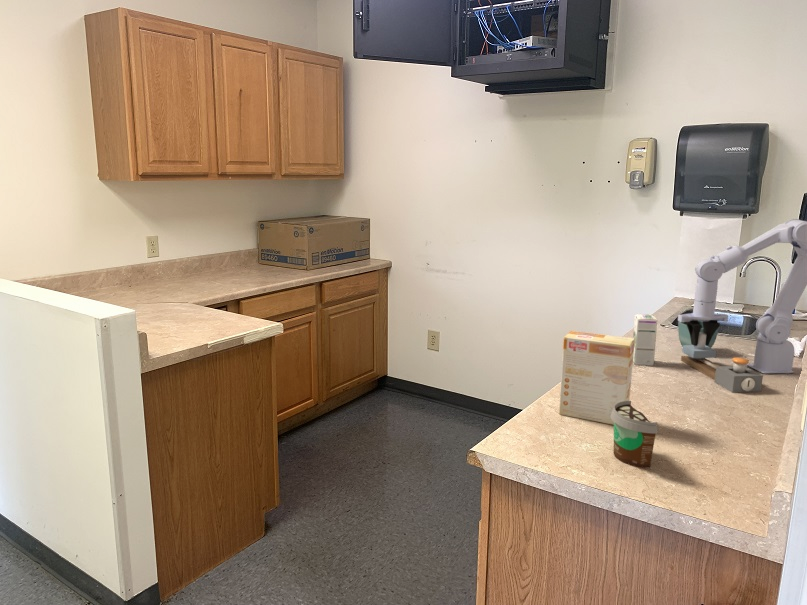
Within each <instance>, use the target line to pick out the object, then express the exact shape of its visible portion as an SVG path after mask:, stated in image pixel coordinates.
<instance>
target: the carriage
mask: <svg viewBox="0 0 807 605" xmlns="http://www.w3.org/2000/svg"><path fill="white" fill-rule="evenodd" d="M706 336H707V334H705V333H699V338H698V344H697V346H694V345H683V347H682V350H681V351H682V353H683V354H684V355H685V356H690V357H692V358H706V359H713V358H714V359H715V358H716V357H717V350H716V349H714V348H713V347H711V348H710V347H708V346H706V345H705V344H706Z"/></svg>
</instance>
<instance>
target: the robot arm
mask: <svg viewBox="0 0 807 605" xmlns="http://www.w3.org/2000/svg"><path fill="white" fill-rule="evenodd" d="M777 243H779V244H791V245H792V247H793V249H794V251H795V253H796V254H797V256H796V259H794V263H793V264H792V266H791V268H790V270H789V272H788V274H787V275H786V278H785V280H784V282H783V284H782V286H781V288H780V290H779V292H778V294H777V296H776V298H775V300H774V302H773V304H772V305H771V306H769V307H768V308H767V309H766V310H765V312H764V314H763V315H761V316H760V317H758V319H757V320H756V323H755V328H756V331H757V332H758V335H757V336H756V337H757V338H756V344H755V351H754V358H753V362H752V363H748V364H747V365H746V367H748V368H749V367H750V369H752V370H755V371H756V372H758V373H760V374H767V375H768V374H794V373H795V372H794V370H793V363H794V357H795V346H794V343H792V341H790V340H788V339H789V338H790V336H791V327H792V324H793V322H794V319H793V318H794V317H793V312H794V311H795V309H796V307H797V305H798V303H799V301H800V299H801V297H802V295H803V293H804V291H805V289H806V287H807V220H801V219H799V218H798V219H797V218H791V219H789V220H787V221H785V222H783V223H780V224H777V225H776V226H774V227H773V228H772V229H769V230H768V231H765V232H764V233H763V234H761V235H759V236H757V237H756V238H754V239H752V240H750V241H749V242H747V243H745V244H744V245H740V246H739V245H737V244H736V245H733V246H731V245H728V246H726V247H725V250H723V251H721V252H719V253H717V254H716V255H713V254H712V255H710V256H709V258H710V259H709V258H708V259H702V260H700V261H699V262H698V264H697V265H696V267H695V269H694V270H695V274H696V275H697V278H696V284H695V292H694V300H693V301H694V302H693V310H692V312H691V313H683V314H678V315H677V322H685V323H686V325H687V327H688V330H689V333H690V338H691V344H692V345H694V346H697V344H698V338H699V333H700V330H701V328H702V325H700V324H699V323H698V322H699V321H702V322H703V333H705V334H707V336H706V344H705V345H706V346H708V345H709V343H710V340H711V338H712V336H713V334H714V333H715V331H716V330H717V329H718V328H719V329H720V322H724V323H727V322H728V320H729V314H726V313H715V312H716V305H717V304H716V303H717V294H718V287H719V286H718V283H719V280H720V279H721V277H722V276H723V274H726V273H728V272H729V271H731V270H733V269H735V268H737V267H739V266H742V265H744V264H745V263H746V262H747V260H748V258H749V257H750V256H751V255H754V254H755V253H758V252H760V251H762V250H764V249H767V248H768V247H771V246H773V245H775V244H777Z"/></svg>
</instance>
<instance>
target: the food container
mask: <svg viewBox="0 0 807 605" xmlns="http://www.w3.org/2000/svg"><path fill="white" fill-rule="evenodd" d="M611 419H612V420H613V422H614V425H613V456H614V457H615V458H616V459H617V460H618V461H619V462H622V463H623V464H626V465H629V466H632V467H637V468H645V469H646V468H647V469H649V468H651V463H652V457H653V451H654V446H655V439H656V435H657V434H658V432H659V431H658V429H659V428H658V422H656V421H654V422H652V421H650V419H648V417H646V416H645V414H644V413H643V412H641V411H640V410H637V409H636V408H635V407H634V406H632V400H629V401H622V402H619V403H617V404H616V405H615V406H614V408H613V410H612V413H611Z"/></svg>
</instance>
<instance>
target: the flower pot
mask: <svg viewBox="0 0 807 605" xmlns="http://www.w3.org/2000/svg"><path fill="white" fill-rule="evenodd" d="M698 323H699V324H700V325H702V328H701V330H700V333H703V321H699V322H698ZM677 325H678V326H677V327H678V330H677V331H678V339H679V343H680V345H681V347H682V348H683V345H692V344H691V338H690V333H689V330H688V327H687V325H686V323H685V322H679V321H677ZM719 329H720V327H719V328H718V329H717V330H716V331H715V333H714V334H713V336H712V338H711V340H710V343H709V345H708V347H710V348H713V346H714V344H715V342H716V340H717V337H718V333H719Z"/></svg>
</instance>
